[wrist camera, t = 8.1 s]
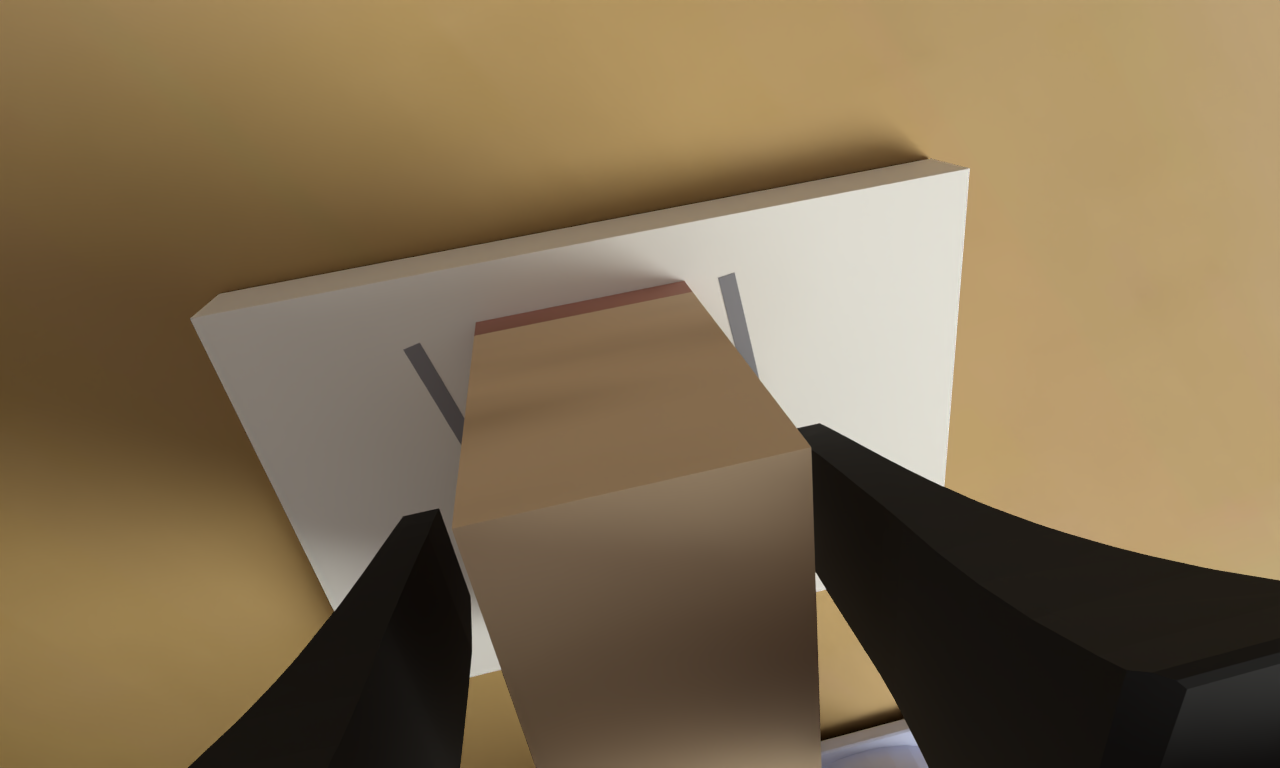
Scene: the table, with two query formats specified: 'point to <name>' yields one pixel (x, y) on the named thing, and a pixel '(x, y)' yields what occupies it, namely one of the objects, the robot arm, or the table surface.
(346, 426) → the board
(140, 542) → the table surface
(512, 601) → the block
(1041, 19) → the table surface
